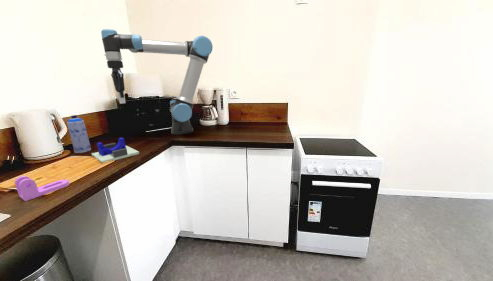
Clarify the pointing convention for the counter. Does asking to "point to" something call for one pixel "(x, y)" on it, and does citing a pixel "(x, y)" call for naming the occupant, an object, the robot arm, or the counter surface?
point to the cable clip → (105, 151)
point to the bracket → (30, 190)
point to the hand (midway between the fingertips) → (122, 103)
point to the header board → (107, 157)
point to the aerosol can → (78, 135)
